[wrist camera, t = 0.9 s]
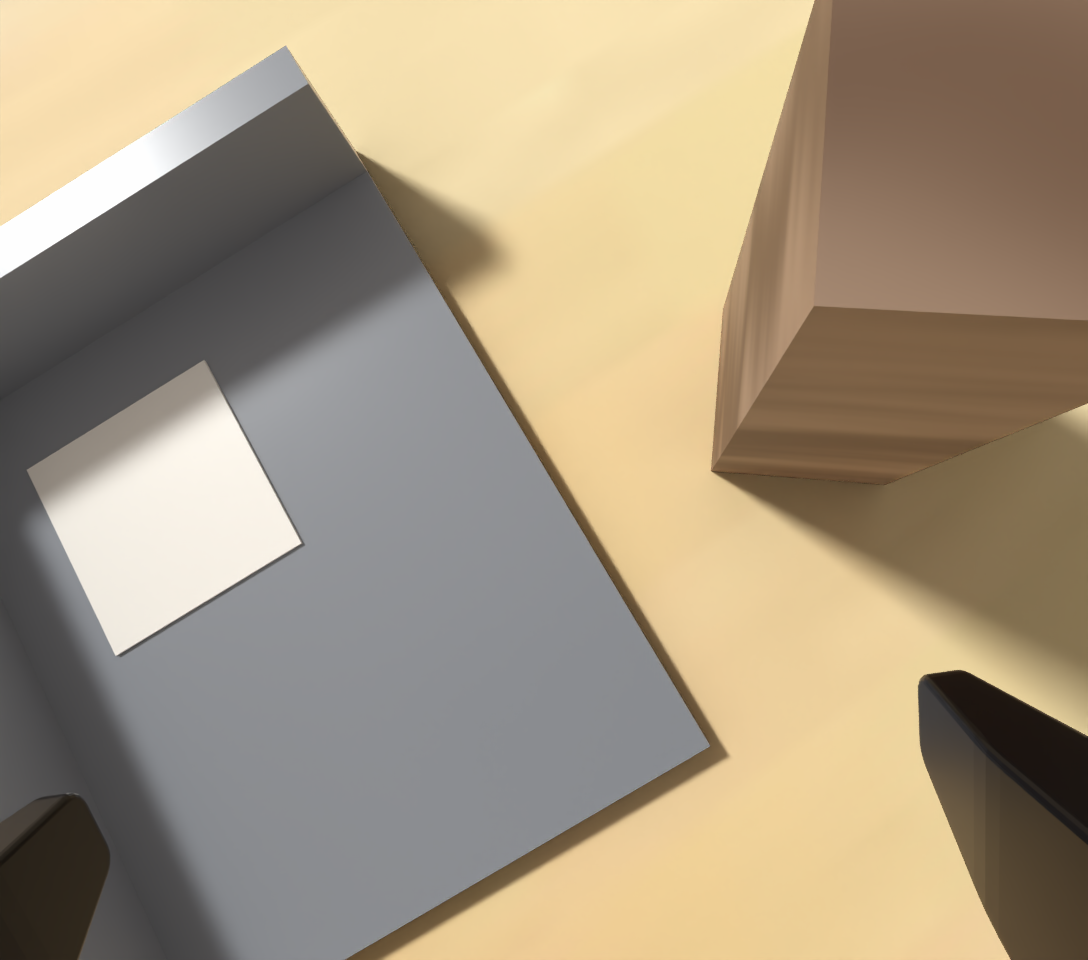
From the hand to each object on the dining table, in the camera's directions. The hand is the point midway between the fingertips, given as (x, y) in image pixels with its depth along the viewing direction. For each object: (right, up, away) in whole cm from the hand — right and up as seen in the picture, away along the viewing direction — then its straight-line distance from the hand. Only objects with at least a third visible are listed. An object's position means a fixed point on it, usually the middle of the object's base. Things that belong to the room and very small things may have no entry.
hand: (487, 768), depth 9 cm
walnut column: (+8, +5, +14) cm, 17 cm away
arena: (-7, 0, +15) cm, 17 cm away
